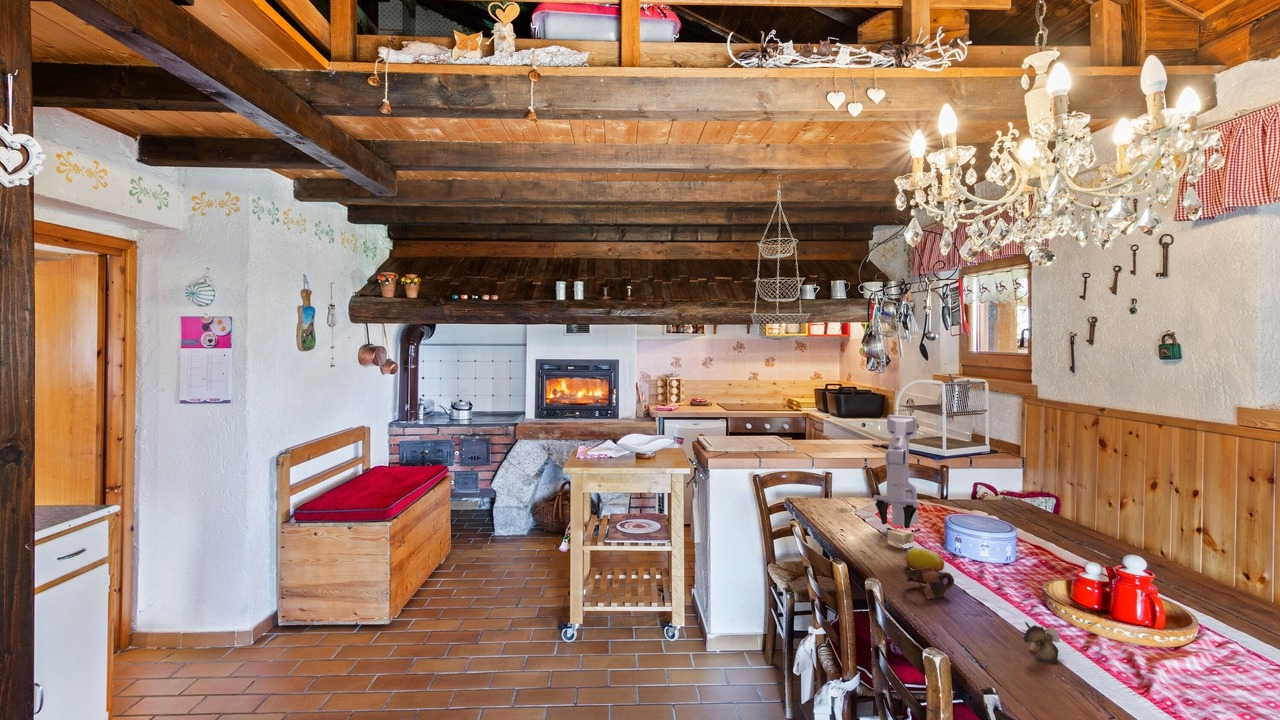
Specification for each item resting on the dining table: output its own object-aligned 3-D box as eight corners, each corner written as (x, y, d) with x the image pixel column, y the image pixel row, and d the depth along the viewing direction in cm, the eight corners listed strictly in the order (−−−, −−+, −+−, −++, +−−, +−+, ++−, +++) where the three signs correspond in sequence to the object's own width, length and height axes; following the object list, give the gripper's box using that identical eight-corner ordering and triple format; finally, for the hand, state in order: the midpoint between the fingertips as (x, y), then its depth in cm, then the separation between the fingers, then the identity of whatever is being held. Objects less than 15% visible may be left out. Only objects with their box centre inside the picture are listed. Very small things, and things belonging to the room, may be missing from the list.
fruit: (954, 575, 173) (946, 550, 173) (920, 585, 174) (912, 560, 173) (935, 561, 185) (928, 537, 184) (903, 570, 185) (896, 547, 185)
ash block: (898, 542, 206) (898, 528, 206) (913, 546, 201) (913, 532, 201) (887, 545, 203) (887, 530, 203) (903, 549, 198) (903, 535, 198)
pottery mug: (916, 602, 157) (905, 570, 161) (911, 604, 165) (901, 574, 169) (963, 593, 155) (950, 561, 159) (955, 596, 163) (943, 566, 167)
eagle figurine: (1013, 634, 135) (1013, 643, 128) (1033, 611, 134) (1035, 619, 126) (1047, 661, 131) (1049, 672, 124) (1068, 638, 130) (1071, 647, 122)
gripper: (869, 482, 198) (868, 523, 197) (912, 488, 187) (912, 531, 186) (879, 481, 203) (878, 521, 202) (921, 487, 192) (921, 529, 191)
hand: (895, 526), depth 194 cm, fingers open, 7 cm apart
